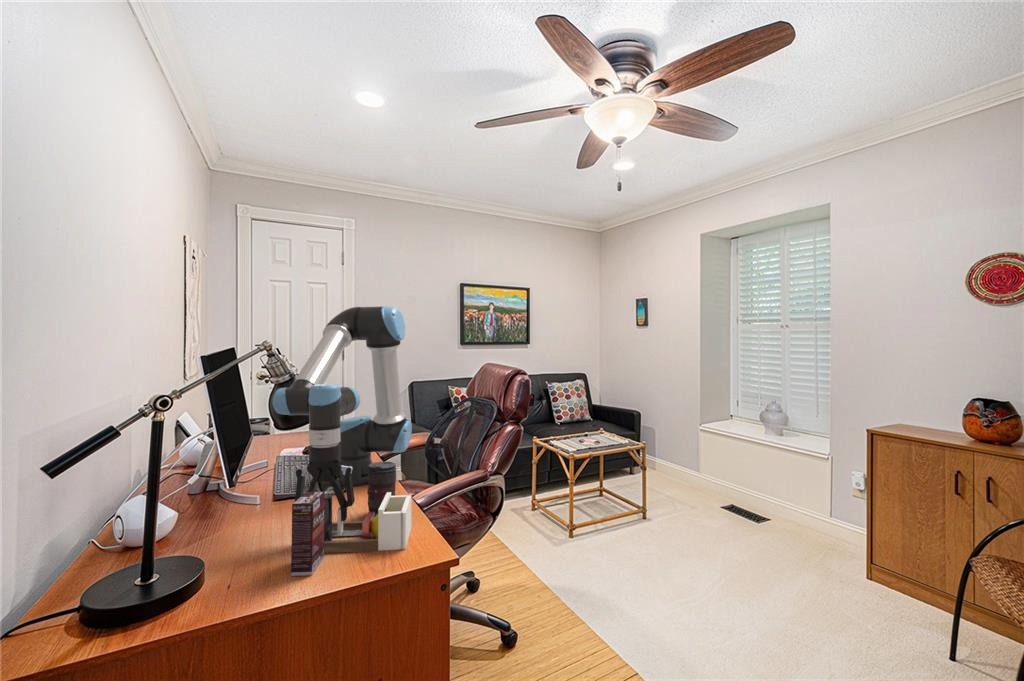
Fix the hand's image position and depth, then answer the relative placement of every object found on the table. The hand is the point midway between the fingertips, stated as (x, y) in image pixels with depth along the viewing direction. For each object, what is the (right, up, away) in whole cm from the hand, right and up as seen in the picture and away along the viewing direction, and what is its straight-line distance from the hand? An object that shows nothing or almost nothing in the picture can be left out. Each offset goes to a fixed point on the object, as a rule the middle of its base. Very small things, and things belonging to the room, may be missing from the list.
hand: (324, 533), depth 117 cm
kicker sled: (+5, -2, +1) cm, 5 cm away
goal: (+18, -2, +2) cm, 18 cm away
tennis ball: (+15, -2, +2) cm, 15 cm away
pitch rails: (+6, -2, +1) cm, 6 cm away
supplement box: (+2, -2, -13) cm, 13 cm away
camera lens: (+9, -2, +18) cm, 21 cm away
